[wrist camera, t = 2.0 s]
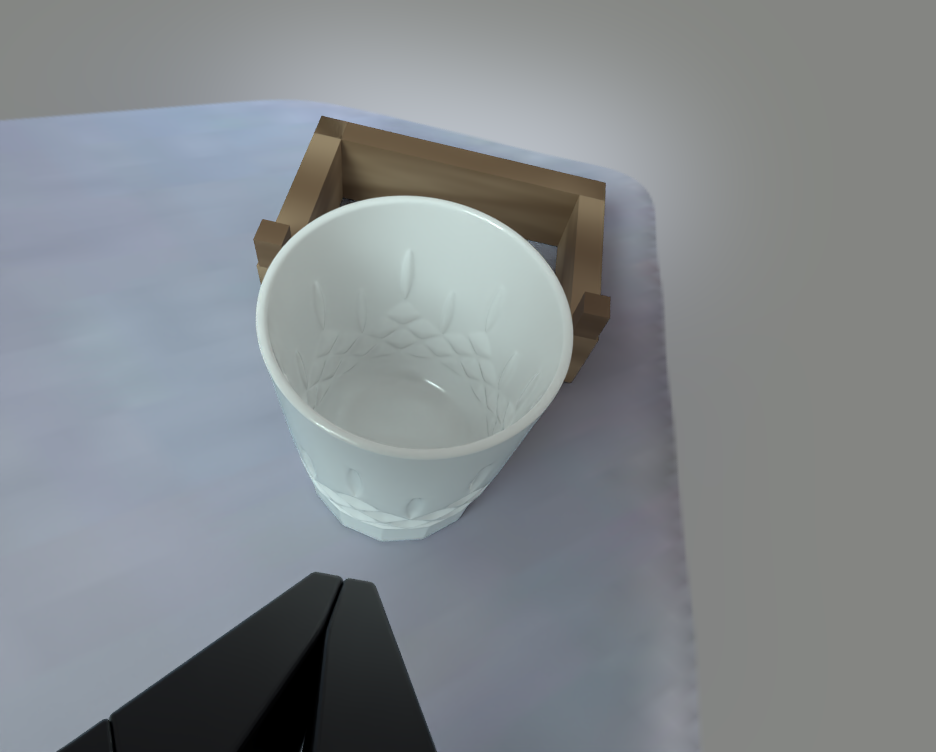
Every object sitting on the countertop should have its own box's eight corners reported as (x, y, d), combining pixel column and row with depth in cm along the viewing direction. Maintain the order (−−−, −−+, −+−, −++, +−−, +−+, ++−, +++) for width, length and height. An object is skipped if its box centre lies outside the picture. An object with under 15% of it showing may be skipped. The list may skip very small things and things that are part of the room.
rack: (571, 383, 26) (612, 318, 22) (268, 318, 26) (250, 238, 21) (581, 234, 31) (617, 157, 27) (325, 175, 30) (319, 85, 26)
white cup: (484, 576, 22) (566, 487, 13) (267, 538, 21) (205, 420, 13) (506, 389, 26) (580, 227, 17) (324, 353, 25) (306, 168, 17)
